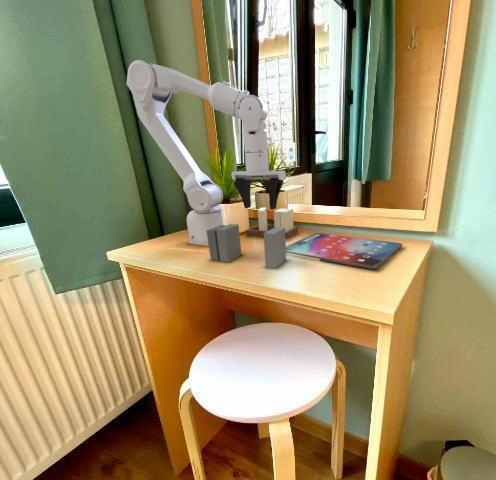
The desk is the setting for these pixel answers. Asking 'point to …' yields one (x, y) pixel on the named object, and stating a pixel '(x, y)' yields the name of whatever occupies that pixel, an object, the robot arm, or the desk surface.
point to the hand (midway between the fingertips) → (260, 208)
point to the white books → (284, 219)
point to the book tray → (255, 230)
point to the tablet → (345, 249)
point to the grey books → (229, 248)
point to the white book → (262, 219)
